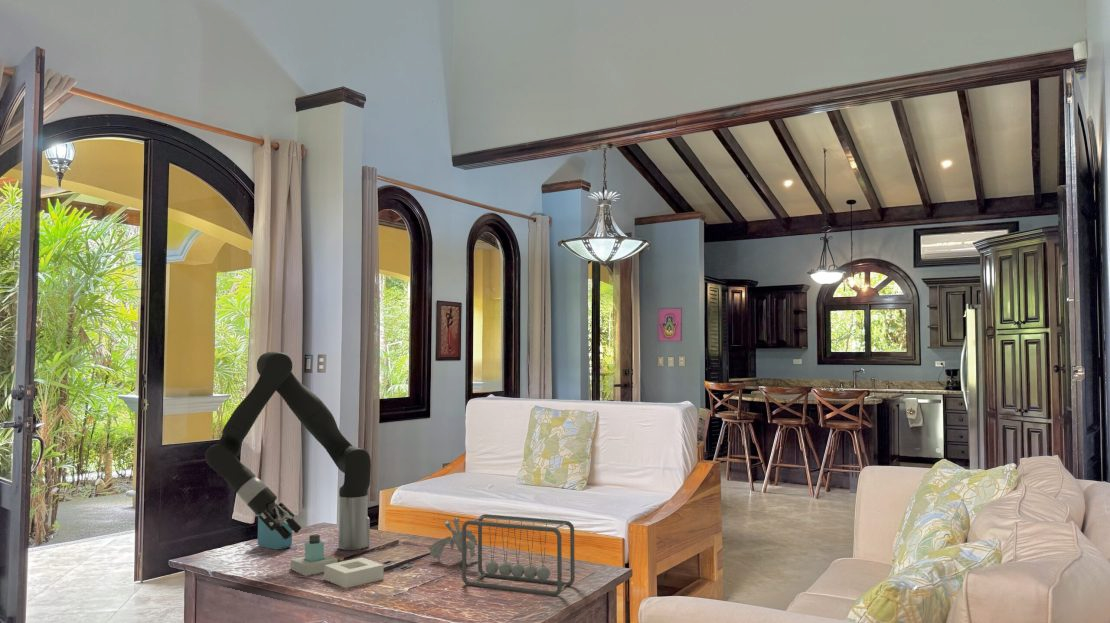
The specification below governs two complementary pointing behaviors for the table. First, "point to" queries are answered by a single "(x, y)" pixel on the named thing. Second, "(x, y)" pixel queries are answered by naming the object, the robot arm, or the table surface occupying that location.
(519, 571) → the newton's cradle
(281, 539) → the data package
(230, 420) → the robot arm
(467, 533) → the fairy figurine
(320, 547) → the plug
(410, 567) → the table surface
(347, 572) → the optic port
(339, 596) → the table surface
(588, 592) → the table surface
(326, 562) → the holster
